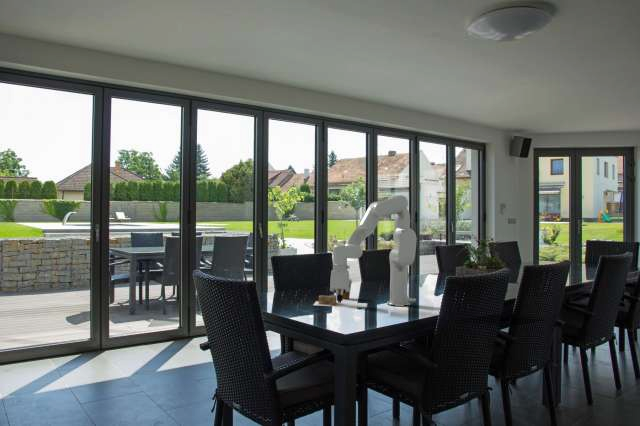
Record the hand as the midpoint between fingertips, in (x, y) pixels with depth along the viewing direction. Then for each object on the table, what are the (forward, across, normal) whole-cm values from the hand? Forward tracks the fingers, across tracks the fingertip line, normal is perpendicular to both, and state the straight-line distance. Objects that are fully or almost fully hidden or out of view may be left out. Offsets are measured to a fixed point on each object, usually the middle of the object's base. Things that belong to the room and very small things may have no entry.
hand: (339, 302), depth 260 cm
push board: (+2, 0, 0) cm, 2 cm away
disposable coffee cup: (+2, -1, -20) cm, 20 cm away
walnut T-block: (+1, +6, 0) cm, 6 cm away
